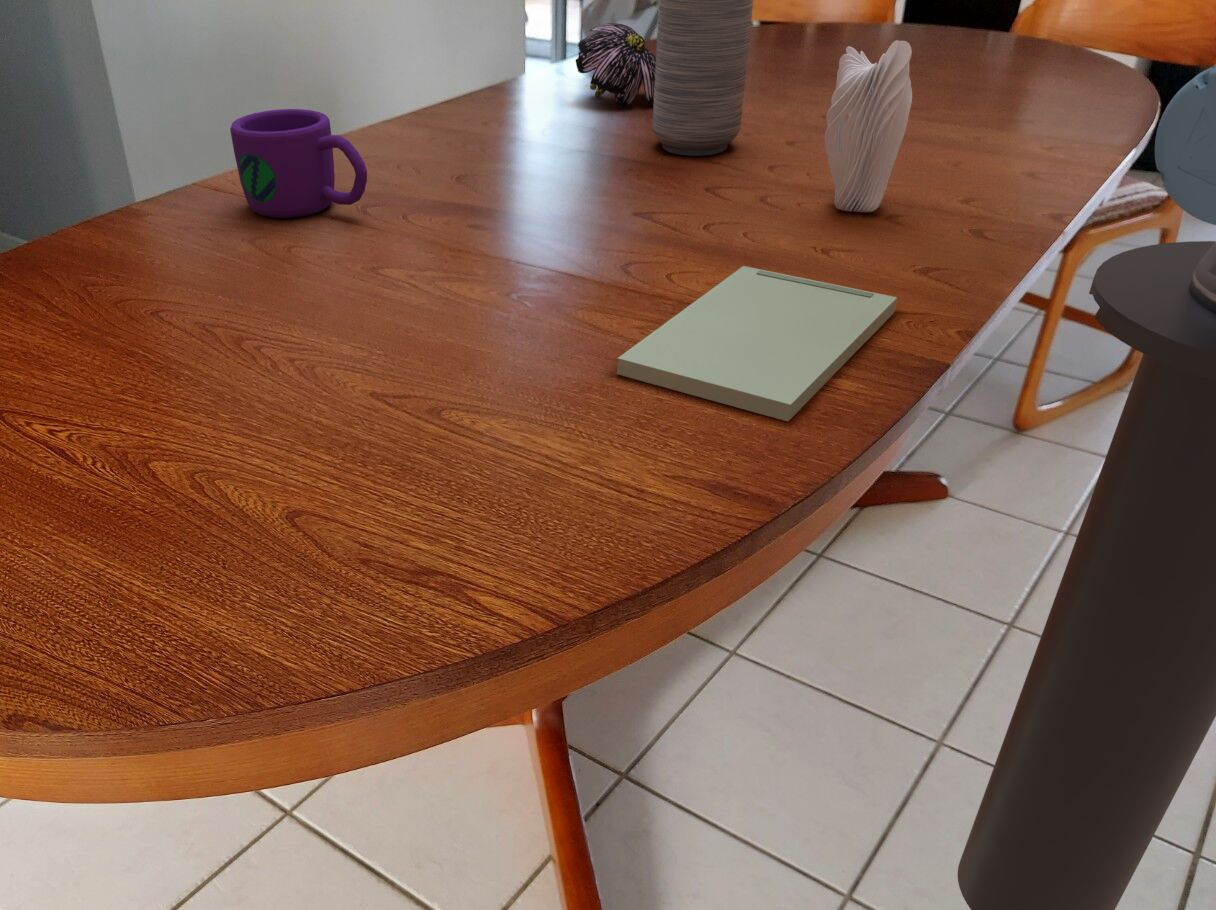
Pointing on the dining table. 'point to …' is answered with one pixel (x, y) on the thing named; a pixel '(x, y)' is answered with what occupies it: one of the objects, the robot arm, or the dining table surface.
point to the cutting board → (759, 341)
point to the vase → (700, 74)
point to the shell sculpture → (867, 125)
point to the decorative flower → (618, 63)
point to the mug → (292, 162)
